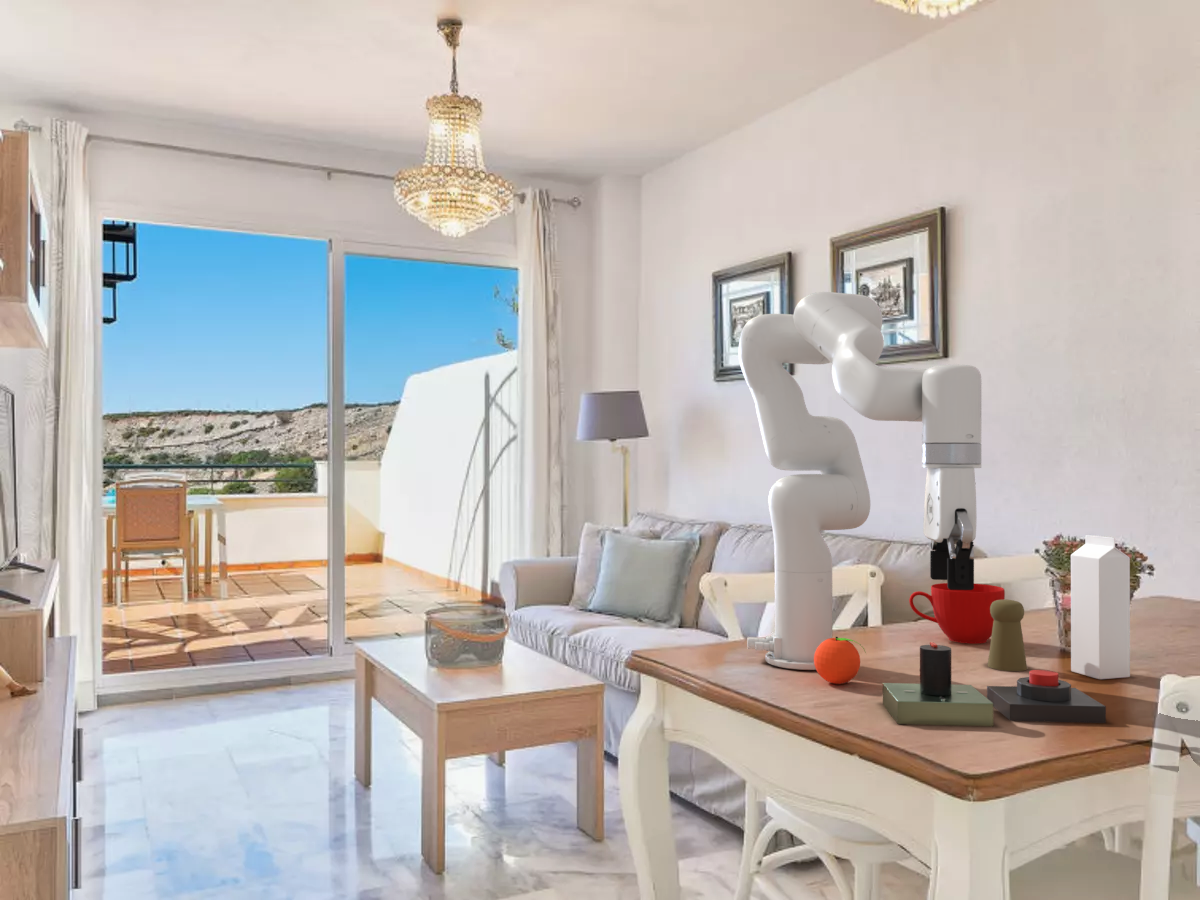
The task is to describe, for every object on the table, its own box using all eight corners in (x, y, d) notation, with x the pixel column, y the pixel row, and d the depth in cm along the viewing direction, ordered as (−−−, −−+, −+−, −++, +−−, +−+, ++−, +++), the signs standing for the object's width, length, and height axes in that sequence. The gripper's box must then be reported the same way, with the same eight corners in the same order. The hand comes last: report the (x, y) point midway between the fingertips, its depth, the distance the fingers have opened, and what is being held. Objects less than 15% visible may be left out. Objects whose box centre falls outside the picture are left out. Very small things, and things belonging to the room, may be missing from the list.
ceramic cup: (908, 631, 189) (907, 581, 189) (1000, 635, 184) (999, 584, 184) (910, 644, 176) (910, 590, 176) (1009, 649, 172) (1009, 593, 172)
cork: (1031, 671, 153) (1031, 603, 153) (991, 670, 155) (991, 602, 155) (1022, 663, 159) (1022, 598, 159) (984, 662, 161) (983, 596, 161)
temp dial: (954, 696, 126) (954, 648, 126) (923, 695, 126) (923, 647, 126) (947, 688, 130) (947, 642, 130) (916, 688, 130) (916, 642, 130)
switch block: (1010, 720, 125) (1010, 690, 125) (986, 701, 135) (986, 673, 135) (1105, 723, 124) (1105, 692, 124) (1075, 703, 134) (1075, 674, 134)
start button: (1034, 688, 128) (1034, 675, 128) (1025, 682, 131) (1025, 669, 131) (1062, 688, 128) (1062, 675, 128) (1052, 682, 131) (1052, 669, 131)
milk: (1099, 680, 148) (1098, 538, 148) (1070, 671, 154) (1069, 534, 154) (1131, 677, 150) (1130, 536, 150) (1100, 668, 156) (1100, 533, 156)
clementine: (859, 677, 149) (859, 632, 149) (873, 688, 142) (873, 641, 143) (808, 678, 149) (808, 632, 149) (820, 688, 142) (820, 641, 142)
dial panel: (897, 724, 124) (897, 699, 124) (882, 704, 134) (882, 681, 134) (993, 726, 122) (993, 702, 122) (971, 706, 132) (971, 683, 132)
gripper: (909, 456, 137) (909, 575, 137) (937, 457, 120) (937, 593, 120) (963, 457, 137) (963, 576, 137) (999, 457, 119) (999, 594, 119)
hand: (951, 584), depth 128 cm, fingers open, 9 cm apart
